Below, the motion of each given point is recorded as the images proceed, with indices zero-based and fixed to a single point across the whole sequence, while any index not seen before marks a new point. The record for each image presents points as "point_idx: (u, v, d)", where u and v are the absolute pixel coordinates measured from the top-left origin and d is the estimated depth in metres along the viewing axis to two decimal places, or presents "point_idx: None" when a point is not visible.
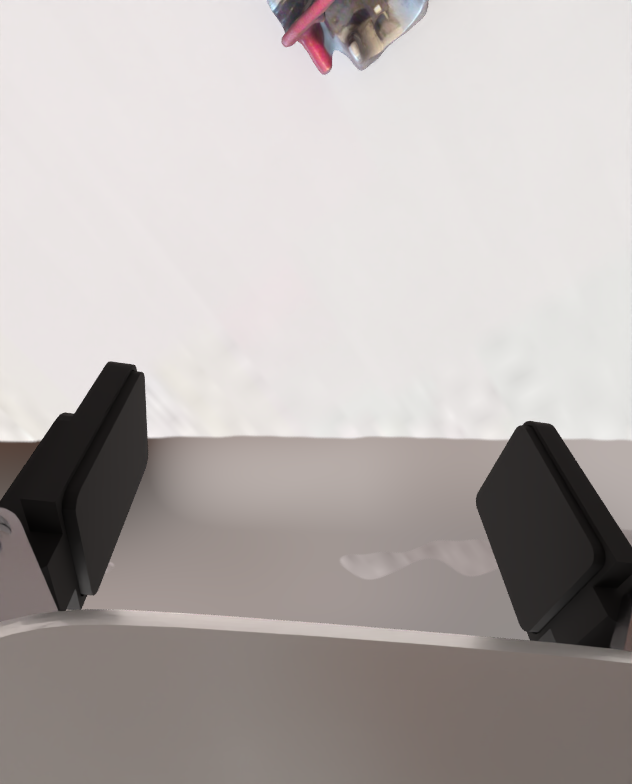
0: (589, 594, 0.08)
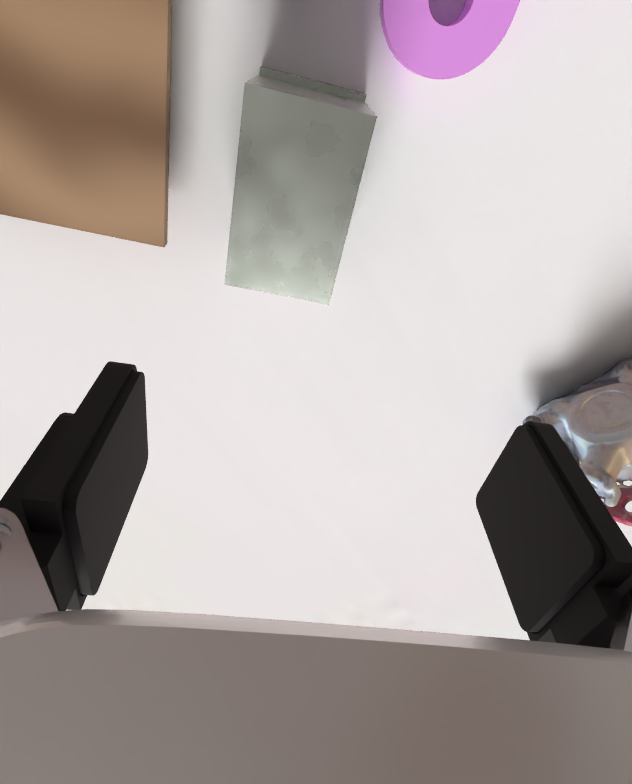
0: (589, 594, 0.08)
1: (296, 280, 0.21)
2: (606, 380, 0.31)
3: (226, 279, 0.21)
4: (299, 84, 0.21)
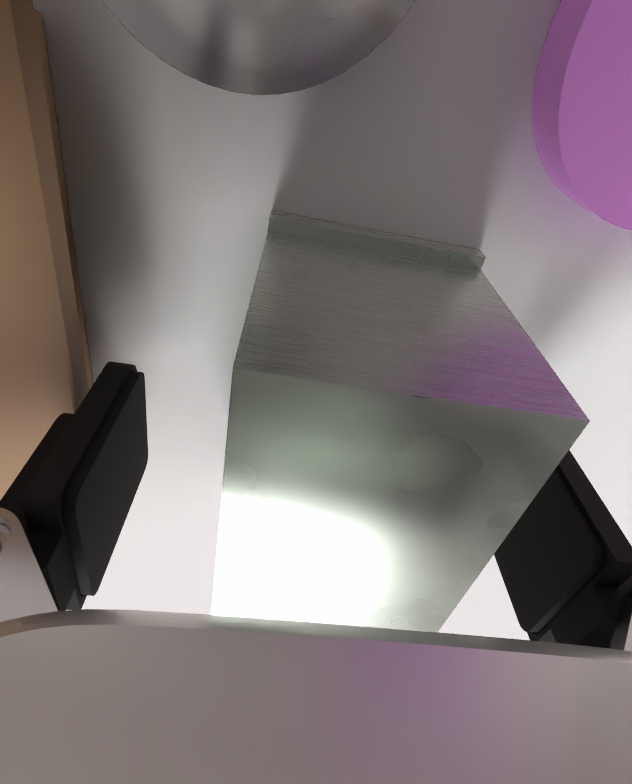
0: (589, 594, 0.08)
1: None
2: None
3: None
4: (350, 245, 0.10)
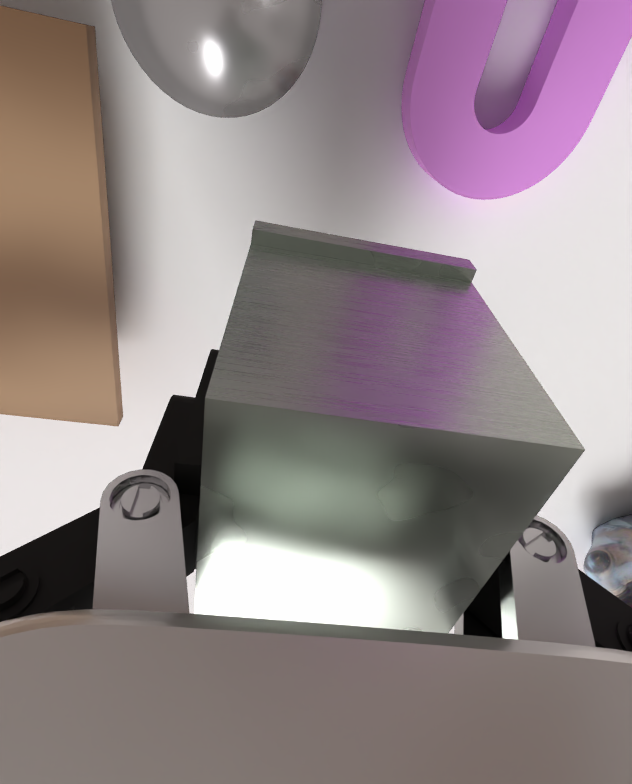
0: None
1: None
2: None
3: None
4: (337, 258, 0.10)
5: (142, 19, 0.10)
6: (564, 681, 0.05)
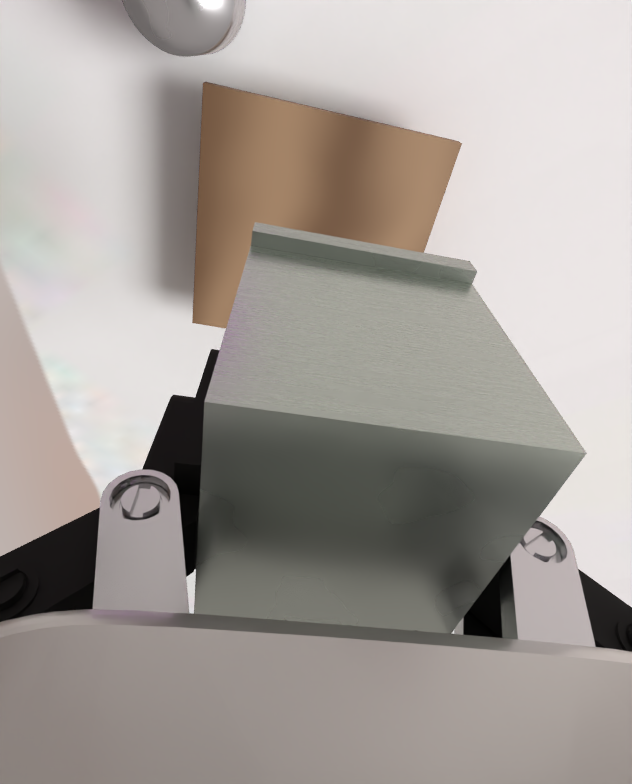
0: None
1: None
2: None
3: None
4: (337, 259, 0.10)
5: (192, 38, 0.18)
6: (564, 681, 0.05)
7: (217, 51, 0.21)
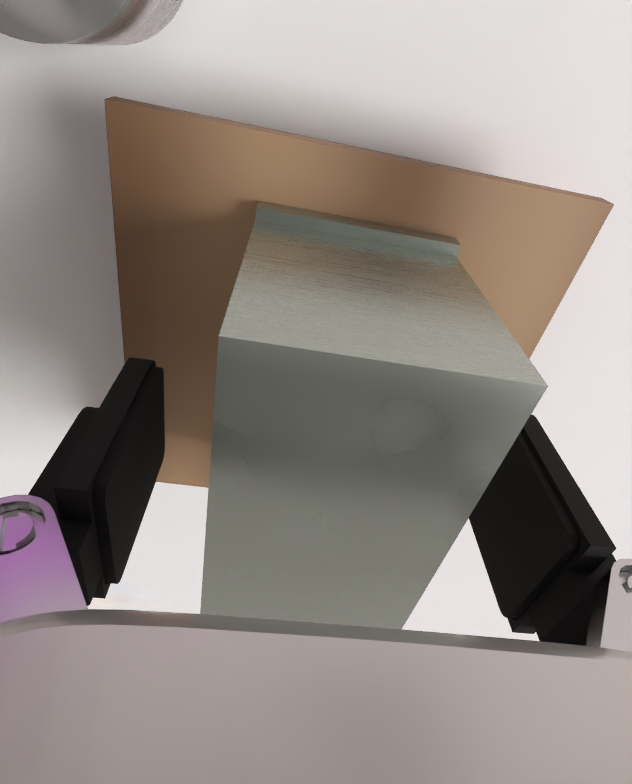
0: (565, 578, 0.09)
1: (338, 611, 0.11)
2: None
3: None
4: (333, 234, 0.11)
5: (59, 2, 0.08)
6: (564, 681, 0.05)
7: (145, 38, 0.11)
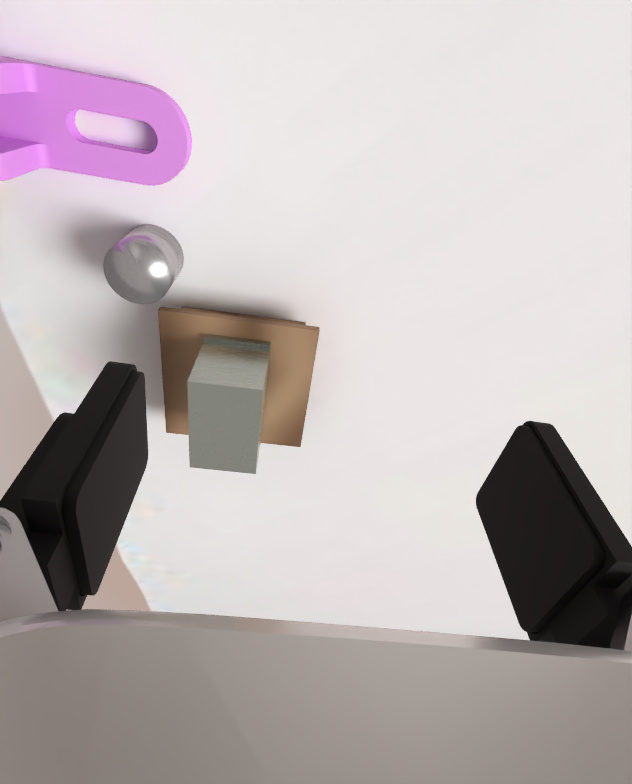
0: (589, 594, 0.08)
1: (233, 463, 0.35)
2: None
3: (190, 464, 0.35)
4: (228, 343, 0.35)
5: (148, 296, 0.32)
6: (564, 681, 0.05)
7: None
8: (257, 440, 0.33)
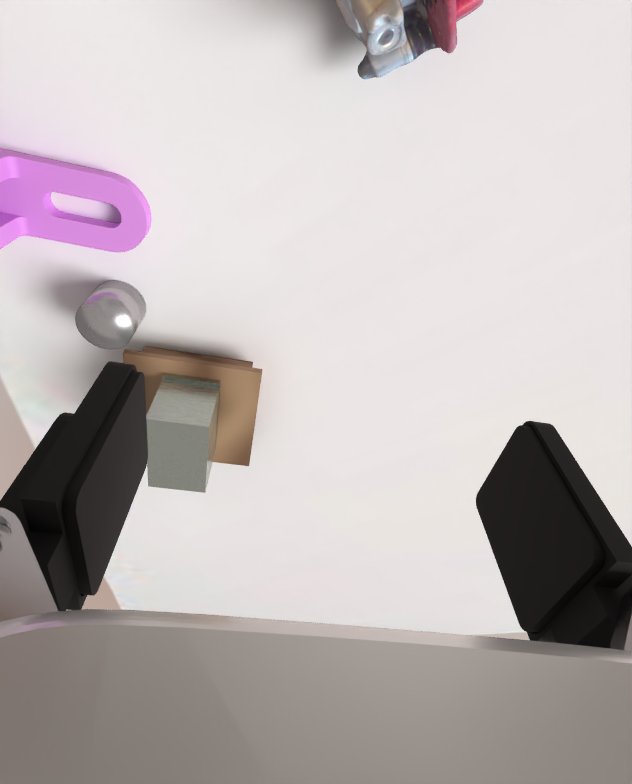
0: (589, 594, 0.08)
1: (185, 483, 0.41)
2: None
3: (149, 484, 0.41)
4: (184, 382, 0.41)
5: (114, 343, 0.38)
6: (564, 681, 0.05)
7: None
8: (205, 466, 0.39)
